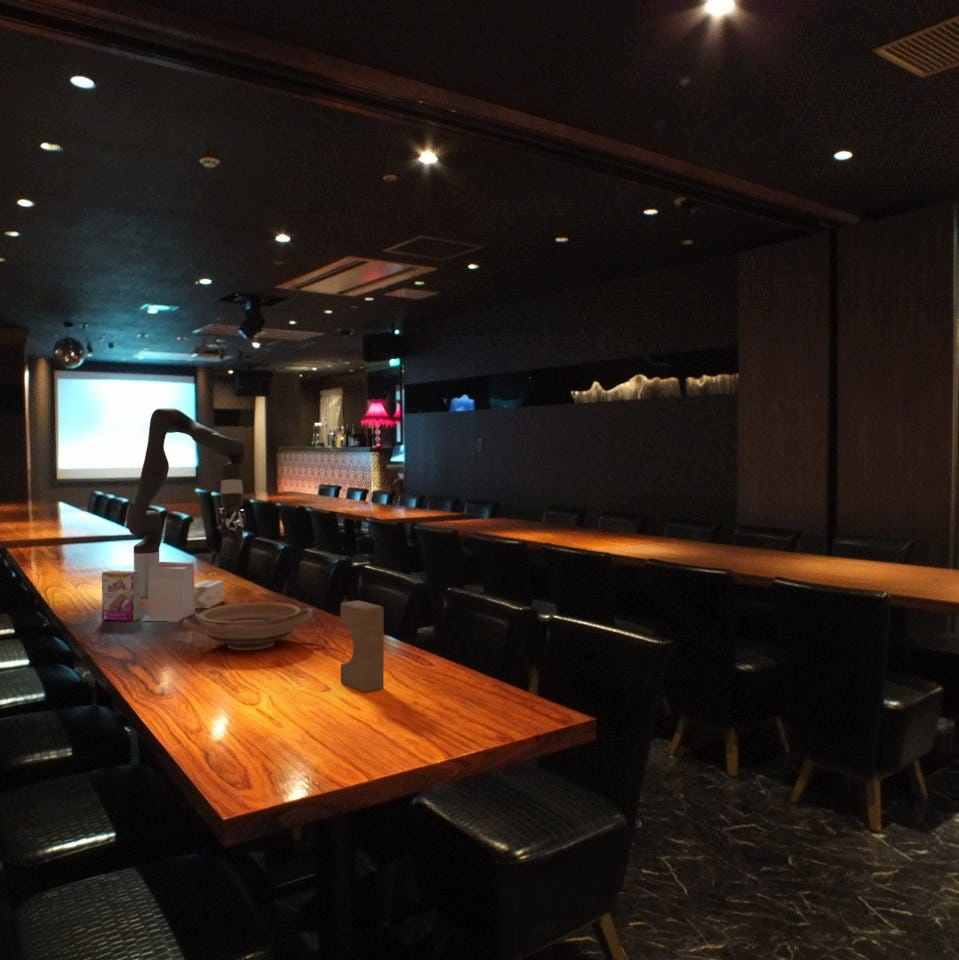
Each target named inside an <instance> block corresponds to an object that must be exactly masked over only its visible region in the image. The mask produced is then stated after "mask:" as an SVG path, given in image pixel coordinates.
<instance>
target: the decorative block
mask: <svg viewBox="0 0 959 960" xmlns="http://www.w3.org/2000/svg"><path fill="white" fill-rule="evenodd" d="M339 607H340V623H342V624H343V625H344V626H346V628H347V629H348V631H349V633H350V636H351V639H352V646H353V649H352V650H353V651H352V656H351V658H350V660H349V661H347V662H344V663H341V664H340V683H341V684H343V685H345V686H348V687H349V688H353V689H356V690H358V691H360V692H363V693H365V694H367V693H371V692H374V691H379V690H383V689H384V687H385V685H384V679H385V678H384V673H385V672H384V666H385V665H384V661H385V660H384V658H385V657H384V606H381V605H379V604H374V603H370V602H366V601H362V600H352V601H345V602H341V603H340V606H339Z"/></svg>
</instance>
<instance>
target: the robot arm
mask: <svg viewBox="0 0 959 960" xmlns="http://www.w3.org/2000/svg"><path fill="white" fill-rule="evenodd" d="M174 433H179V434H185V435H188V436H189V437H190V438H191V439H192V440H193V441H194V442H195V443H196V444H198V445H200V446H201V447H204V448H206V449H209V450H211V451H212V452H214V453H215V454H217V455H218V456H221V457H225V458H228V461H227V463H226V464H225V463H224V464H223V465H222V466H221V470H220V476H221V477H220V480H221V483H220V505H221V506H222V508H218V509H217V525H218V526H220V527H221V528H222V529H221V530H222V531H221V532H222V534H221V535H222V538H223V539H229V537H230V527H229V526H230V524H231V523H233V524H234V526H235V538H236V539H242V538H243V528H244V527H246V526H247V516H246V515H247V514H246V513H247V512H246V509H241V507H242V506H243V505H244V499H243V497H244V495H243V494H244V493H243V492H244V491H243V489H244V488H243V480H242V479H243V477H242V469H243V468H242V467H243V465H244V460H245V456H246V446H245V444H244V442H243V441H242V440H240V439H238V438H232V437H227V436H225V435H223V434H222V433H221V432H219V431H217V430H215V429H212V428H211V427H208V426H205V425H204V424H201V423H200V422H198V421H196V420H194V419H193V418H191V417H190V416H189V415H187V414H185V413H184V412H182V411H181V410H179V409H177V408H165V407H164V408H156V409H155V410H154V411H153V412H152V414H151V417H150V420H149V428H148V438H147V445H146V451H145V457H144V460H143V465H142V468H141V472H140V478H139V482H138V487H137V491H136V496H135V499H134V501H133V502H134V503H132V504H133V506H132V507H131V511H130V513H129V516H128V517H129V518H128V527H127V528H128V531H129V533H130V534H131V535H133V536H144V537H143V539H141V541H139V542H138V543H136V544H134V545H133V571H140V599H145V598H147V599H148V577H149V568H152V567H157V563H158V562H160V547H161V544H162V529H163V528H162V524H163V523H162V517H161V515H160V513H159V512H158V511H156V510H149V507H150V505H151V503H152V501H153V500H154V498H155V497H156V496H157V495H158V494H159V493H160V491H161V490H163V488H164V486H165V484H166V482H167V479H168V473H169V469H170V465H169V461H168V457H167V454H166V451H165V440H166V436H167V434H174Z"/></svg>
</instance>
